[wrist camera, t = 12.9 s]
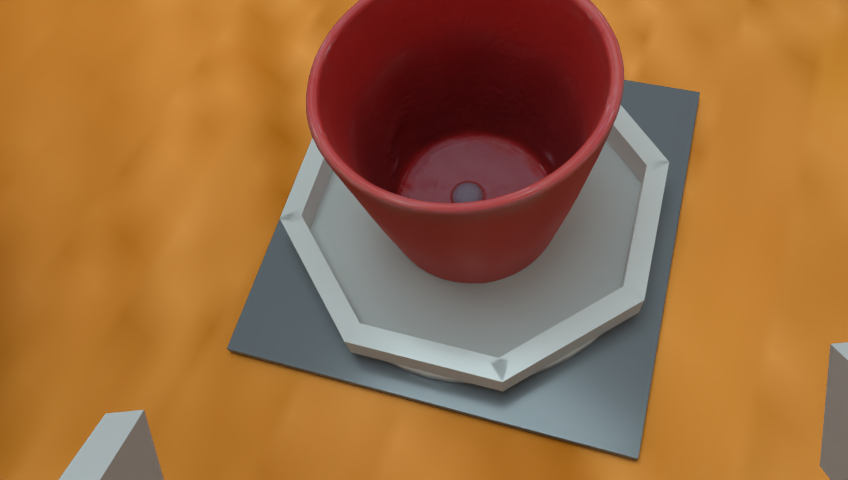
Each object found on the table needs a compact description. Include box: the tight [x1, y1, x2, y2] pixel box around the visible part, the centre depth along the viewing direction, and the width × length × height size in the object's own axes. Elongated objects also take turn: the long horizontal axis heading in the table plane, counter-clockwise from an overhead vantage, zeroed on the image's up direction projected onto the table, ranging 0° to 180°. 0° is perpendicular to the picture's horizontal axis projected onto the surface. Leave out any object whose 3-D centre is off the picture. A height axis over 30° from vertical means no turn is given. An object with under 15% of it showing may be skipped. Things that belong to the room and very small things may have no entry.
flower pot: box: [306, 0, 624, 283], centre depth 30 cm, size 11×11×10 cm
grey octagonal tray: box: [227, 80, 700, 461], centre depth 34 cm, size 18×18×3 cm
